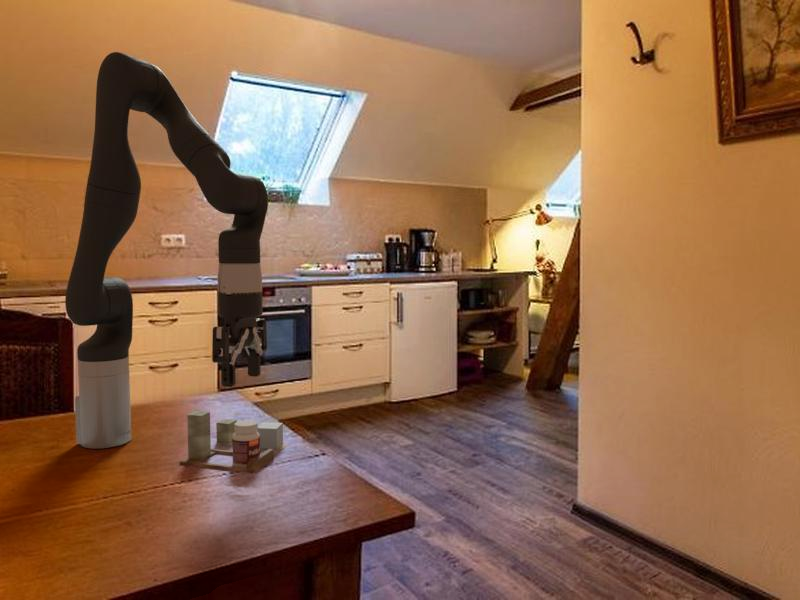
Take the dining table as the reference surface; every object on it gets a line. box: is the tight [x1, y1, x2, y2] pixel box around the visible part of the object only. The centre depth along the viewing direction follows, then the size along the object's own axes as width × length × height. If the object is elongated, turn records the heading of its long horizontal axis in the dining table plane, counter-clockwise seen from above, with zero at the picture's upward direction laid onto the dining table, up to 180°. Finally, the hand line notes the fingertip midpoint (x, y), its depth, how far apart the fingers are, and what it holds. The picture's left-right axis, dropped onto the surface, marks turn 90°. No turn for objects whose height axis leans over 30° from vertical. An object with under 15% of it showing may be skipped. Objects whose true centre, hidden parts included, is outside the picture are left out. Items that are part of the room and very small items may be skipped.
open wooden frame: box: [179, 410, 275, 474], centre depth 108 cm, size 14×8×9 cm, turn 74°
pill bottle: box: [231, 419, 261, 468], centre depth 107 cm, size 5×5×8 cm
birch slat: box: [214, 418, 290, 451], centre depth 118 cm, size 14×4×5 cm, turn 74°
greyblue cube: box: [257, 421, 284, 450], centre depth 117 cm, size 4×4×4 cm
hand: (241, 381), depth 107 cm, fingers open, 8 cm apart
